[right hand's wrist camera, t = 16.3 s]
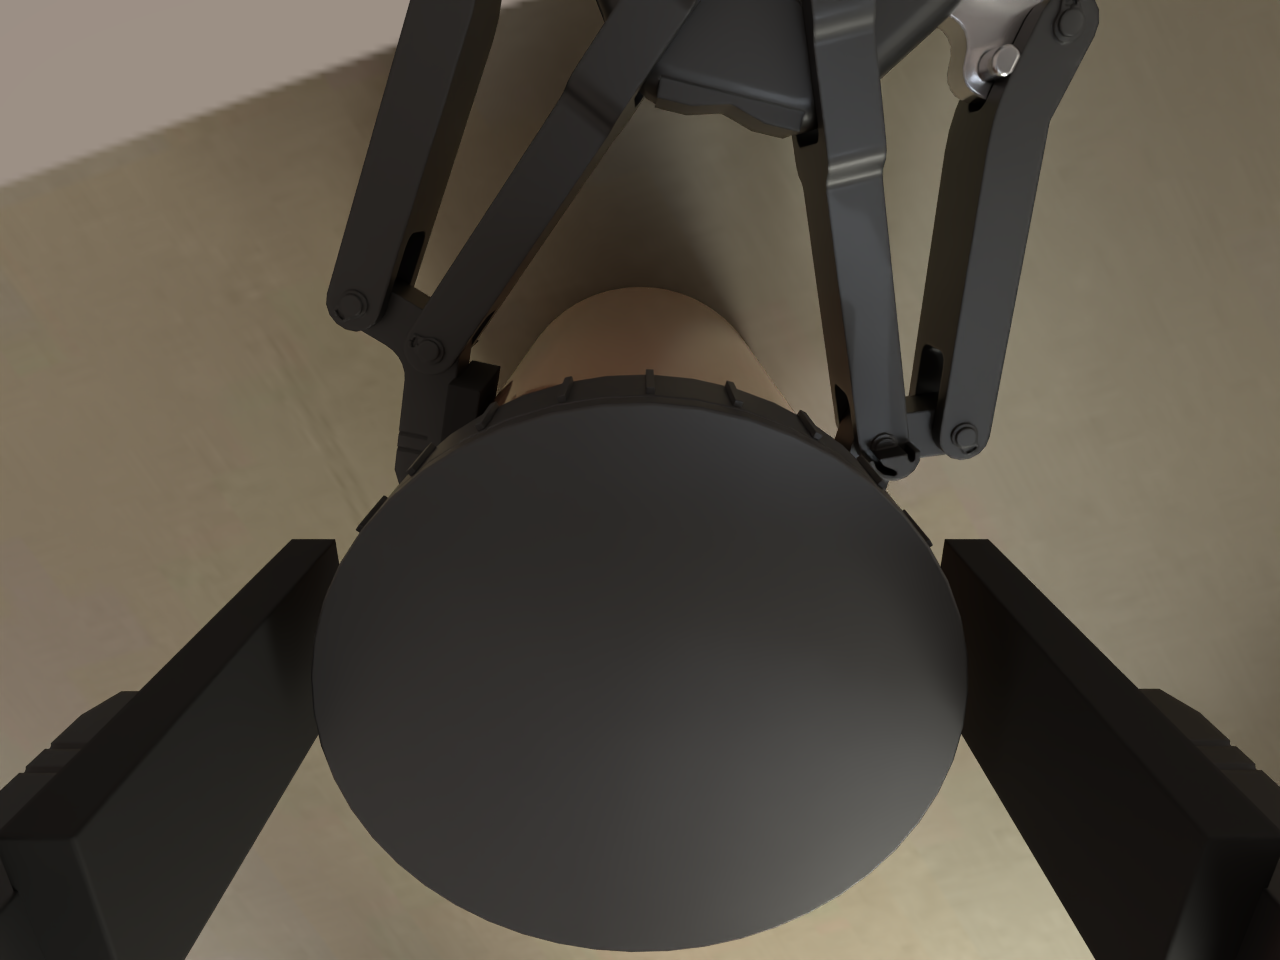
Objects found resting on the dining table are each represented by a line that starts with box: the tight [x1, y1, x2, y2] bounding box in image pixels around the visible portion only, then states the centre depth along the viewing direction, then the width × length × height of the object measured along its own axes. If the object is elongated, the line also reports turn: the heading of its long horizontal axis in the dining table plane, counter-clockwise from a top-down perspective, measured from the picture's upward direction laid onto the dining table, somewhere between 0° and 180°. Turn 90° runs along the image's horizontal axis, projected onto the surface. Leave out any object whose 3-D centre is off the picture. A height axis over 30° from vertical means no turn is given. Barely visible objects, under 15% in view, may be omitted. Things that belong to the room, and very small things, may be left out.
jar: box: [492, 287, 795, 413], centre depth 18 cm, size 8×8×15 cm
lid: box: [311, 369, 968, 952], centre depth 11 cm, size 9×9×2 cm
